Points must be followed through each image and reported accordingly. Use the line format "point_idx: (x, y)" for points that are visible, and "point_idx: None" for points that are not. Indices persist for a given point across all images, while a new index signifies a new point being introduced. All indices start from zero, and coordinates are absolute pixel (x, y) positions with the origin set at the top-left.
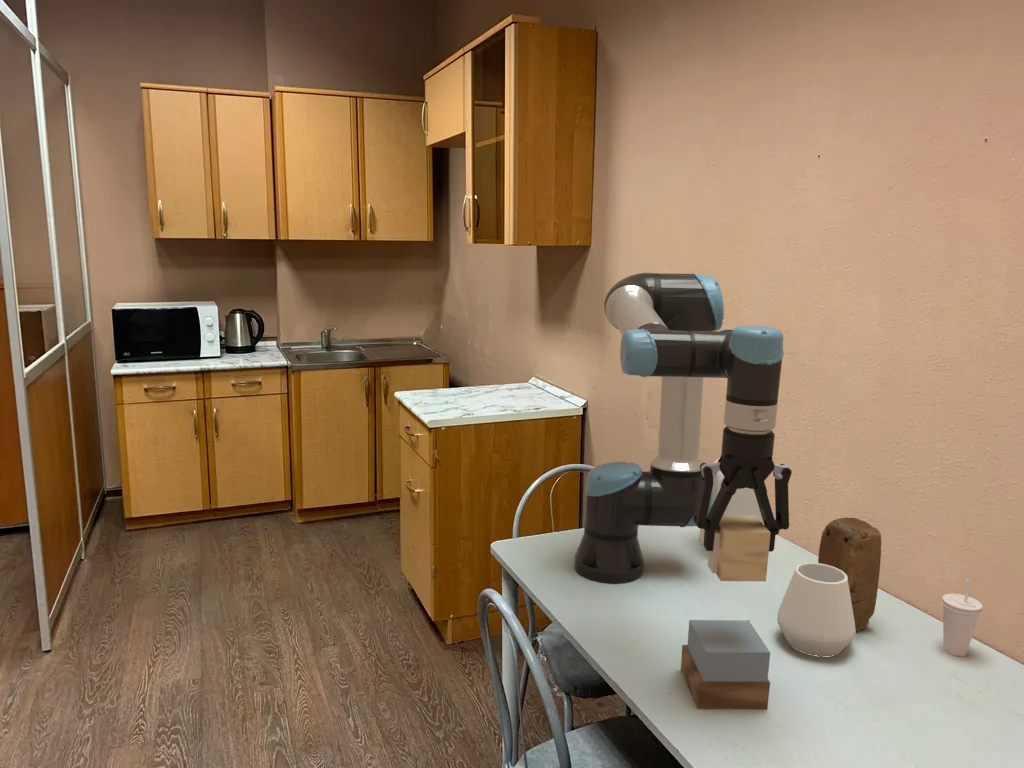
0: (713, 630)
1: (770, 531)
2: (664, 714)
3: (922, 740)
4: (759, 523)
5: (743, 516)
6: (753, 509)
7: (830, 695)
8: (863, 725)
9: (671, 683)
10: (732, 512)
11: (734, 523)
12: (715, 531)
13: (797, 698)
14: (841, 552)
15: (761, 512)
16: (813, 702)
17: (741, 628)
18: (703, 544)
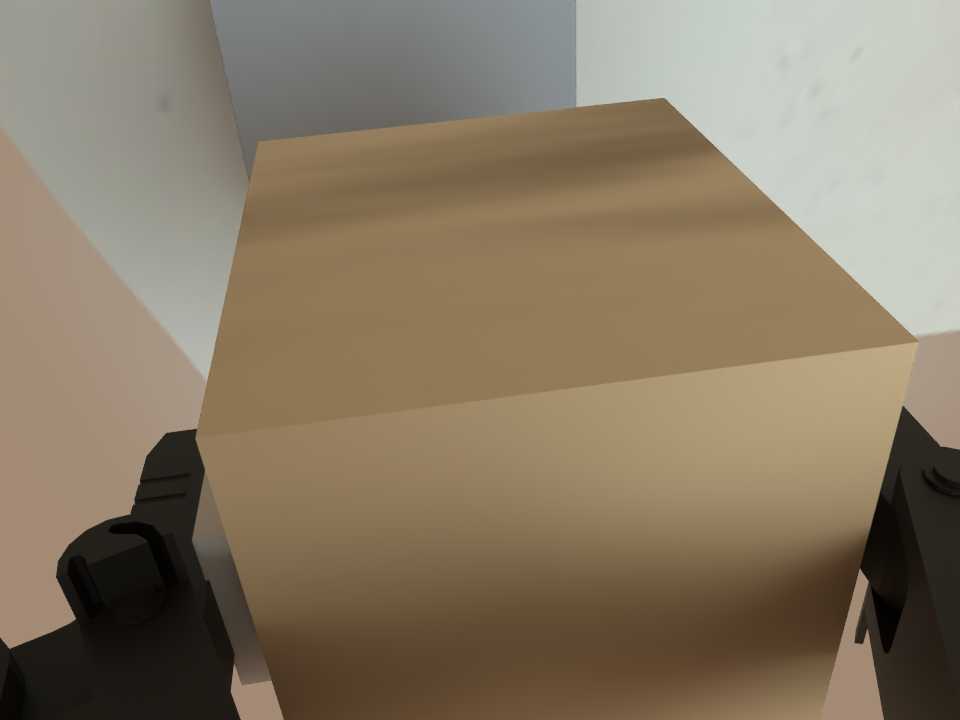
0: (339, 91)
1: (863, 620)
2: (148, 239)
3: (945, 262)
4: (821, 582)
5: (716, 405)
6: None
7: (807, 45)
8: (817, 213)
9: (171, 25)
10: None
11: (491, 643)
12: (244, 642)
13: (671, 80)
14: None
15: (930, 682)
16: (719, 100)
17: (503, 47)
18: (147, 456)
